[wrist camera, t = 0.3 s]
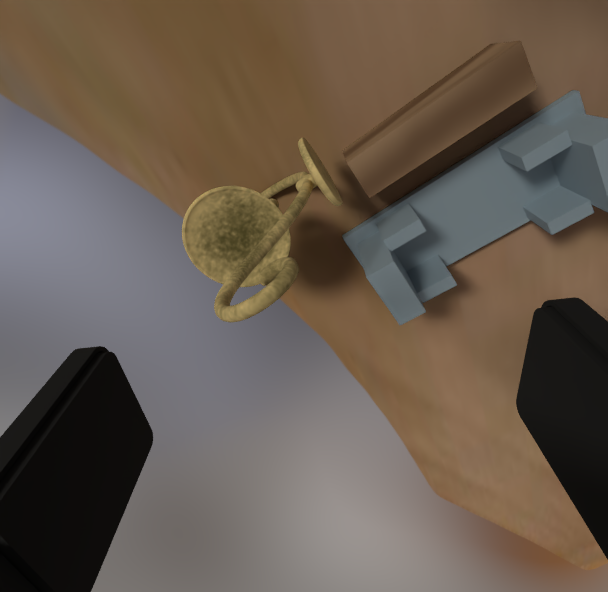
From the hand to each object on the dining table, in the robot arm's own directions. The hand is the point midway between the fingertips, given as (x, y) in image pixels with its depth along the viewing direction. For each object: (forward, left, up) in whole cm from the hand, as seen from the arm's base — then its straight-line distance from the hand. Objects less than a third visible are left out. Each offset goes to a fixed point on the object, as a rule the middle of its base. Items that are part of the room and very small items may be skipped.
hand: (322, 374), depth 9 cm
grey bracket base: (+16, +10, -35) cm, 40 cm away
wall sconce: (+2, -7, -36) cm, 36 cm away
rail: (+5, +10, -36) cm, 37 cm away
